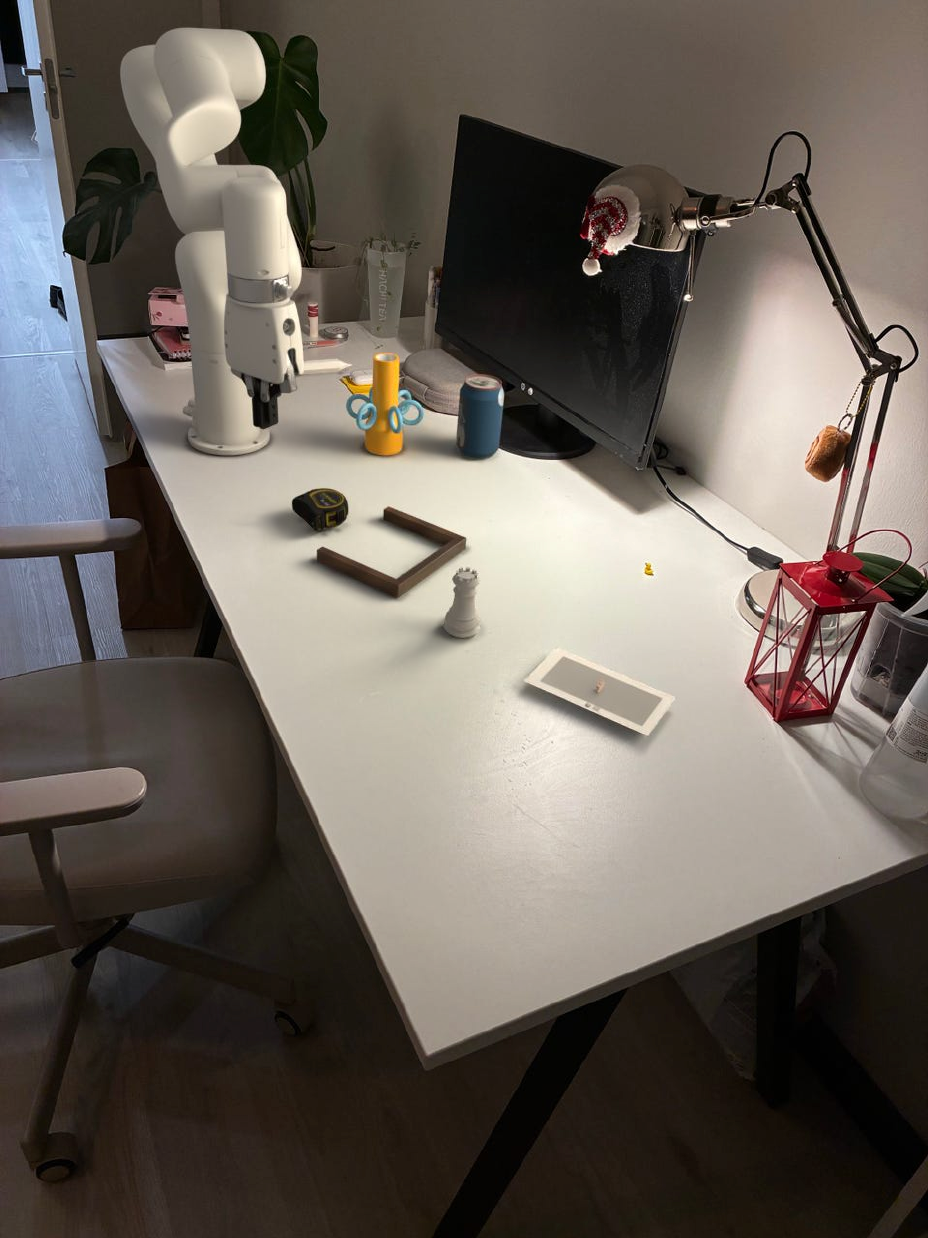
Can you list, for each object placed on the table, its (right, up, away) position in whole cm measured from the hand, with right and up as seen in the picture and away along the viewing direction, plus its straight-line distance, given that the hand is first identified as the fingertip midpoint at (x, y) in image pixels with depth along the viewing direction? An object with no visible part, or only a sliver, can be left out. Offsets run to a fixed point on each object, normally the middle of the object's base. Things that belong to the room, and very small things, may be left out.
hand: (265, 424), depth 131 cm
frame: (+17, -18, -2) cm, 24 cm away
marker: (-1, +19, +48) cm, 51 cm away
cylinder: (+14, +1, +24) cm, 28 cm away
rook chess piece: (+26, -28, -14) cm, 41 cm away
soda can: (+29, +1, +26) cm, 39 cm away
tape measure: (+7, -13, +3) cm, 15 cm away
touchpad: (+42, -35, -23) cm, 59 cm away
